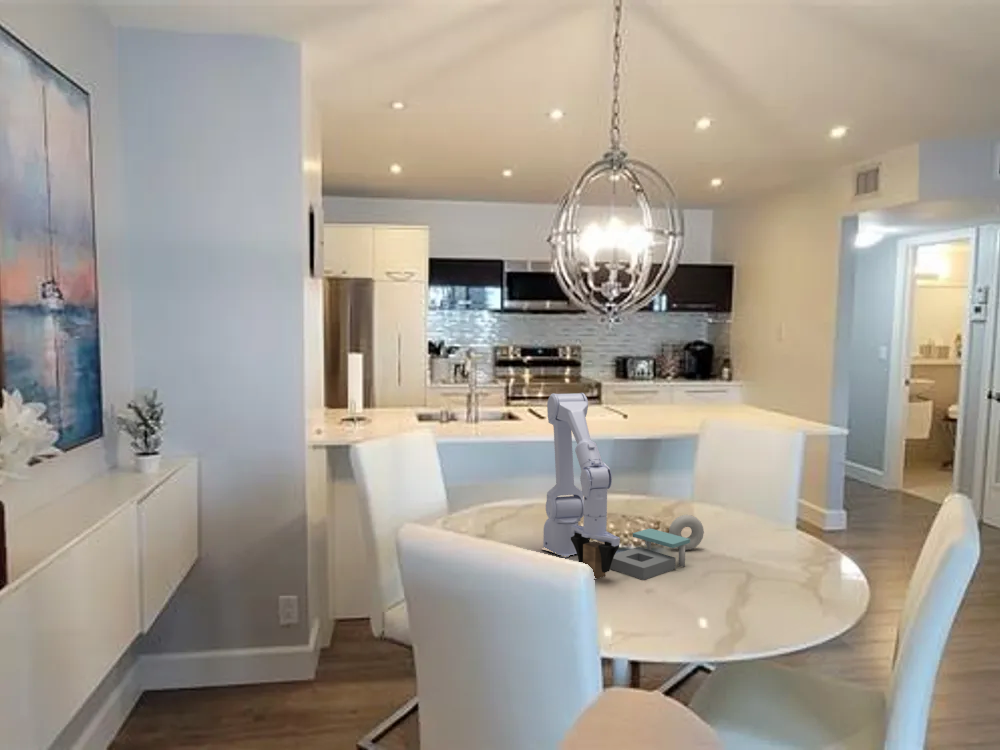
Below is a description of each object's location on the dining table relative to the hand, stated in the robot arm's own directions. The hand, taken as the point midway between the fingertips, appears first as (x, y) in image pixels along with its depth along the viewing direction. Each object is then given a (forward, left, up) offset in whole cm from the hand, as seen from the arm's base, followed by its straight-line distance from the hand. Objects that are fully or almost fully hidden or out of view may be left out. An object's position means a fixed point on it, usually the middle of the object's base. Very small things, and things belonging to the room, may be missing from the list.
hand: (594, 567), depth 187 cm
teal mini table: (+4, +22, -2) cm, 22 cm away
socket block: (+4, +13, -2) cm, 14 cm away
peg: (0, 0, -2) cm, 2 cm away
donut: (+2, +36, -2) cm, 36 cm away
